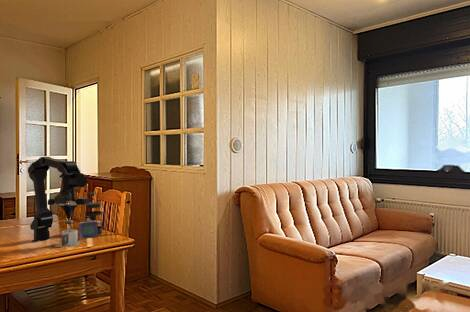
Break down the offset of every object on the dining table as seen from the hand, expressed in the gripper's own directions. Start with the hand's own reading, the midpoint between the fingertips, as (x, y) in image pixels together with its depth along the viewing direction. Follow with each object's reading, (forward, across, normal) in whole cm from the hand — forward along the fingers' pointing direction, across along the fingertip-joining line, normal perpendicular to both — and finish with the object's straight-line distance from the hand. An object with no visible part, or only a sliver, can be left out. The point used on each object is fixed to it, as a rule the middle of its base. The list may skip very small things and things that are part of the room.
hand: (69, 219), depth 174 cm
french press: (+13, -1, +26) cm, 29 cm away
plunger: (+7, 0, 0) cm, 7 cm away
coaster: (+13, 0, 0) cm, 13 cm away
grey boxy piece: (+12, 0, -1) cm, 12 cm away
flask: (+13, +2, +14) cm, 19 cm away
